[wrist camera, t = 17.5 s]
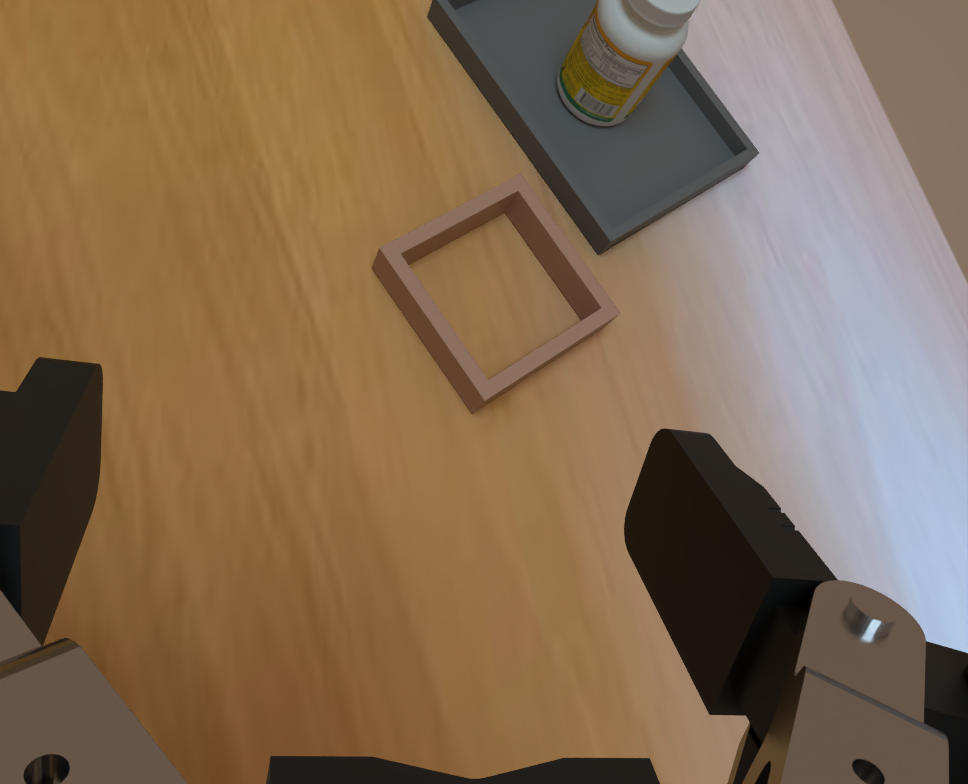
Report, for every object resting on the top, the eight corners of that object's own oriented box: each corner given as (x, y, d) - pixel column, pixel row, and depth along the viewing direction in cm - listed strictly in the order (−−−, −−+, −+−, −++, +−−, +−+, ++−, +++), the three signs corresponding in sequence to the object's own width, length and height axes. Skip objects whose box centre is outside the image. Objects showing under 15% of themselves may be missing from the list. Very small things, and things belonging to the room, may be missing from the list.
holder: (371, 268, 47) (379, 248, 45) (507, 195, 51) (521, 173, 48) (471, 413, 46) (484, 400, 44) (602, 329, 50) (620, 313, 47)
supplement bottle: (574, 136, 52) (644, 30, 44) (541, 61, 53) (604, -58, 44) (647, 121, 54) (729, 17, 45) (615, 49, 55) (689, -67, 46)
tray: (427, 16, 53) (433, -5, 51) (583, -48, 58) (594, -69, 56) (598, 255, 51) (610, 241, 49) (743, 167, 56) (759, 152, 55)
